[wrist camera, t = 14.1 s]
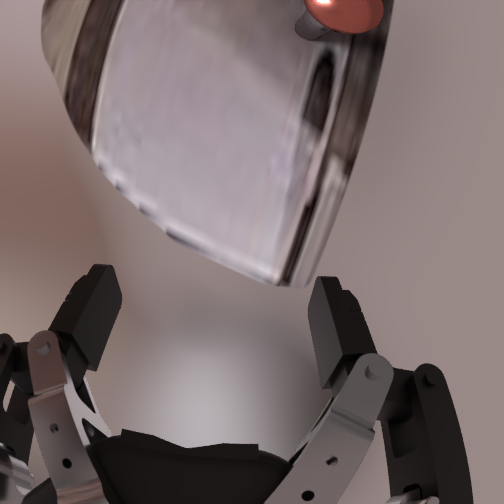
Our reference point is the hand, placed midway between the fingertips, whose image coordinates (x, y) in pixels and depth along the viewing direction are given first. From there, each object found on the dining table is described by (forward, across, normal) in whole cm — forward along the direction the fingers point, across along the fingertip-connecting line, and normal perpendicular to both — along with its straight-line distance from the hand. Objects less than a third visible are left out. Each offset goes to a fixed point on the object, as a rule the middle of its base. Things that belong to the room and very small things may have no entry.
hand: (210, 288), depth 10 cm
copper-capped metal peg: (+28, -8, -20) cm, 35 cm away
